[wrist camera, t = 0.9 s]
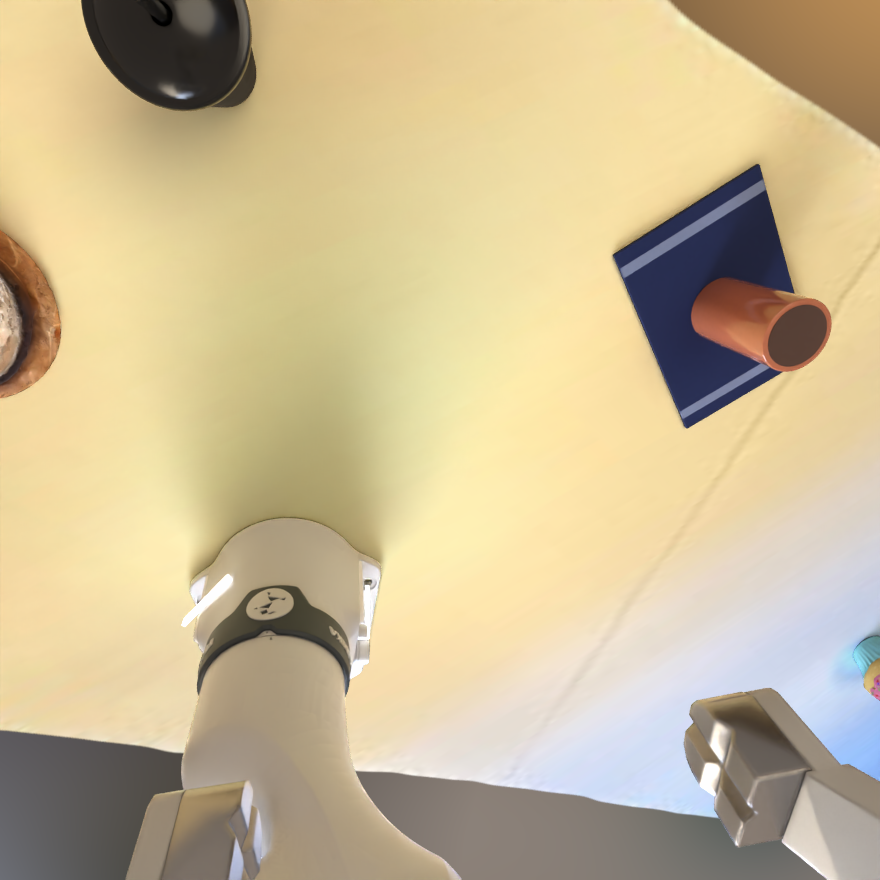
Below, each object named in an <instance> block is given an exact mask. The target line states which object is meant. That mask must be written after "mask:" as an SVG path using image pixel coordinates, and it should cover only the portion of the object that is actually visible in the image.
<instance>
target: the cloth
mask: <svg viewBox="0 0 880 880" xmlns="http://www.w3.org/2000/svg"><path fill="white" fill-rule="evenodd" d="M613 257H614V259H615V261H616V264H617V266H618V269H619V271H620V273H621V276H622V278H623V280H624V283H625V285H626V288H627V290H628V292H629V295H630V297H631V300H632V302H633V304H634V307H635V309H636V311H637V314H638V316H639V319H640V321H641V323H642V326H643V328H644V330H645V333H646V335H647V338H648V340H649V342H650V345H651V347H652V350H653V352H654V354H655V357H656V359H657V361H658V364H659V366H660V369H661V371H662V373H663V376H664V378H665V381H666V383H667V385H668V388H669V390H670V392H671V395H672V397H673V400H674V402H675V404H676V407H677V409H678V411H679V414H680V416H681V419H682V421H683V423H684V426H685V427H686V428H689V427H691V426H692V425H694V424H696V423H697V422H699V421H701V420H703V419H704V418H706V417H708V416H709V415H711V414H713V413H714V412H716V411H718V410H719V409H721V408H723V407H725V406H726V405H728V404H730V403H731V402H733V401H735V400H736V399H738V398H740V397H741V396H743V395H745V394H747V393H748V392H750V391H752V390H753V389H755V388H757V387H758V386H760V385H762V384H763V383H765V382H767V381H769V380H770V379H772V378H774V377H775V376H777V375H779V374H780V373H782V371H777V370H775V369H772V368H770V367H768V366H766V365H763V364H761V363H759V362H757V361H754V360H752V359H750V358H748V357H746V356H743V355H741V354H739V353H737V352H734V351H732V350H730V349H728V348H725V347H723V346H721V345H719V344H716V343H714V342H712V341H710V340H708V339H705V338H703V337H701V336H700V335H699V334H698V333H697V332H696V331H695V329H694V327H693V325H692V320H691V312H692V307H693V304H694V301H695V299H696V297H697V296H698V294H699V293H700V292H701V290H702V289H703V288H704V287H705V286H707V285H708V284H709V283H711V282H713V281H714V280H717V279H719V278H724V277H732V278H736V279H740V280H744V281H747V282H751V283H755V284H759V285H763V286H766V287H770V288H774V289H778V290H782V291H785V292H789V293H793V294H794V290H793V287H792V283H791V279H790V275H789V272H788V268H787V264H786V261H785V257H784V253H783V250H782V246H781V242H780V239H779V235H778V231H777V228H776V224H775V220H774V216H773V213H772V209H771V205H770V202H769V198H768V194H767V191H766V187H765V183H764V179H763V176H762V172H761V168H760V165H759V164H756V165H755V166H753V167H751V168H750V169H748V170H747V171H745V172H744V173H742V174H740V175H739V176H737V177H736V178H734V179H732V180H731V181H729V182H728V183H726V184H724V185H723V186H721V187H720V188H718V189H717V190H715V191H713V192H712V193H710V194H709V195H707V196H705V197H704V198H702V199H701V200H699V201H698V202H696V203H694V204H693V205H691V206H690V207H688V208H686V209H685V210H683V211H682V212H680V213H678V214H677V215H675V216H674V217H672V218H671V219H669V220H667V221H666V222H664V223H663V224H661V225H659V226H658V227H656V228H655V229H653V230H651V231H650V232H648V233H647V234H645V235H644V236H642V237H640V238H639V239H637V240H636V241H634V242H632V243H631V244H629V245H628V246H626V247H625V248H623V249H621V250H620V251H618V252H617V253H615V254H613Z"/></svg>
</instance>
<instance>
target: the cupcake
mask: <svg viewBox="0 0 880 880" xmlns="http://www.w3.org/2000/svg"><path fill="white" fill-rule="evenodd" d="M853 658H854V660H855V661H856V663H857V665H858V666H859V668H860V670H861V672H862V675H863V678H864V687H865V689H866V690H867V691H868V692H869V693H870V694H871V695H872V696H874V697H875V698H876V699H878V700H880V637H879V636H874V637H870V638H867V639H866V640H864V641H862V642H861V643H860V644H859V645H858V646H857V647H856V649H855V650H854V653H853Z"/></svg>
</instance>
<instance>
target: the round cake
mask: <svg viewBox="0 0 880 880" xmlns="http://www.w3.org/2000/svg"><path fill="white" fill-rule="evenodd" d="M60 330H61V329H60V320H59V317H58V309H57V305H56V302H55V298H54V296H53V293H52V291H51V289H50V288H49V285H48V283H47V281H46V279H45V277H44V275H43V274H42V272H41V271H40V269H39V268H38V267H37V265H36V264H35V262H34V261H33V260H32V259H31V258H30V256H29V255H28V254H27V253H26V252H25V251H24V250H23V249H22V248H21V247H20V246H19V245H18V244H17V243H16V242H15V241H14V240H12V239H11V238H10V237H8V236H7V235H6V234H5V233H3V232H2V231H0V398H4V397H8V396H11V395H14V394H16V393H19V392H21V391H23V390H25V389H27V388H28V387H30V386H31V385H33V384H34V383H35V382H37V381H38V380H39V379H40V378H41V377H42V376H43V375H44V374H45V372H46V371H47V370H48V369H49V367H50V366H51V364H52V362H53V361H54V359H55V357H56V353H57V350H58V347H59V343H60V338H61V337H60V334H61V331H60Z"/></svg>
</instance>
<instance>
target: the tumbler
mask: <svg viewBox="0 0 880 880" xmlns="http://www.w3.org/2000/svg"><path fill="white" fill-rule="evenodd" d="M691 320H692V325H693V327H694V329H695V331H696V332H697V333H698V334H699V335H700V336H701V337H703V338H705V339H708V340H710V341H712V342H714V343H716V344H719V345H721V346H723V347H725V348H728V349H730V350H732V351H734V352H737V353H739V354H741V355H743V356H746V357H748V358H750V359H752V360H754V361H757V362H759V363H761V364H763V365H766V366H768V367H770V368H772V369H775V370H777V371H782V372H788V371H794V370H797V369H800V368H802V367H804V366H806V365H807V364H809V363H810V362H811V361H813V360H814V359H815V358H816V357H817V356H818V355H819V354H820V352H821V351H822V350H823V348H824V346H825V345H826V343H827V341H828V338H829V336H830V332H831V316H830V313H829V311H828V309H827V307H826V306H825V305H824V304H823V303H822V302H820V301H818V300H816V299H812V298H808V297H805V296H801V295H797V294H793V293H789V292H785V291H782V290H778V289H774V288H770V287H766V286H763V285H759V284H755V283H751V282H747V281H744V280H740V279H736V278H732V277H724V278H719V279H717V280H714V281H713V282H711V283H709V284H708V285H707V286H705V287H704V288H703V289H702V290H701V292H700V293H699V294H698V296H697V297H696V299H695V301H694V304H693V307H692V312H691Z"/></svg>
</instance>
